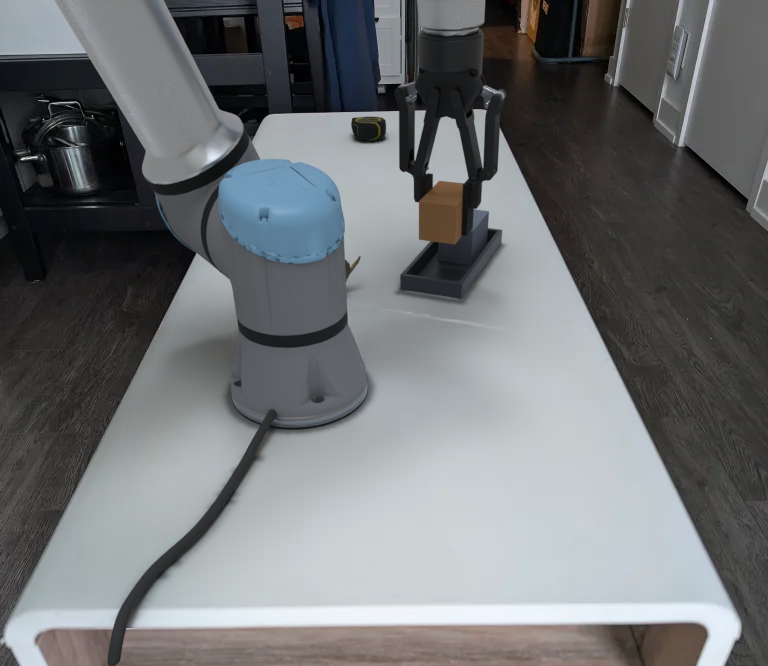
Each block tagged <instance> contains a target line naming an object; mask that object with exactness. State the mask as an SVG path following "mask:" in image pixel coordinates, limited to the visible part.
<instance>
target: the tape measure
mask: <svg viewBox="0 0 768 666" xmlns="http://www.w3.org/2000/svg"><path fill="white" fill-rule="evenodd" d="M350 126H351V131H352V134H353V137H355V138H356V139H359V140H366V141H367V142H374V141H375V142H376V141H377V140H378V139H382V138H384V137H385V136H386V134H387V120H386V119H385V118H384V117H379V116H359V117H352V118H351V122H350Z"/></svg>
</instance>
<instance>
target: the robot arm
mask: <svg viewBox="0 0 768 666" xmlns="http://www.w3.org/2000/svg"><path fill="white" fill-rule="evenodd" d="M53 1H54V2H55V4H56V5H57V7H58V9H59V11H60V12H61V14H62V15H63V17H64V19H65V21H66V22H67V24H68V25H69V27H70V28H71V30H72V32H73V34H74V35H75V37H76V38H77V40H78V42H79V43H80V45H81V47H82V48H83V50H84V52H85V53H86V55H87V56H88V58H89V60H90V61H91V63H92V65H93V67H94V68H95V69H96V71H97V73H98V76H100V78H101V79H102V82H103V83H104V84H105V86H106V88H107V89H108V91H109V93H110V94H111V96H112V98H113V100H114V101H115V103H116V104H117V106H118V108H119V109H120V111H121V113H122V114H123V116H124V118H125V119H126V121H127V122H128V124H129V126H130V128H131V129H132V131H133V132H134V134H135V135H136V137H137V139H138V141H139V142H140V143H141V145H142V147H143V148H144V150H145V153H144V157H143V161H142V165H141V171H142V172H141V173H142V175H143V177H144V179H145V180H146V181H147V184H148V185H149V186H150V188H151V190H152V191H153V193H154V194H155V201H156V205H157V209H158V212H159V213H160V216H161V218H162V219H163V222H164V223H165V225H166V227H167V229H168V230H169V231H170V232H171V234H172V235H173V237H175V238H176V239H177V240H178V242H179V243H181V244H182V245H183V246H184V247H186V248H187V249H189V250H191V251H192V252H194V253H196V254H197V255H199V256H200V257H201V258H203V259H204V260H205V261H206V262H207V263H208V264H209V265H211V266H212V267H214V268H215V269H216V270H217V271H218V272H219V273H220V274H222V276H224V277H226V278H227V279H228V280H229V281H230V284H231V290H232V298H233V303H234V309H235V316H236V321H237V327H238V328H237V329H238V337H237V343H236V347H235V353H234V357H233V362H232V367H231V373H230V385H229V386H230V392H231V393H230V394H231V399H232V403H233V405H234V407H235V408H236V409H237V411H238V412H240V413H241V414H242V415H243V416H244V417H246V418H248V419H249V420H251V421H254V422H256V423H259V424H260V425H259V427H258V428H257V430H256V432H255V434H254V435H253V437H252V439H251V441H250V442H249V445H248V446H247V448H246V450H245V452H244V454H243V455H242V457H241V458H240V460H239V462H238V464H237V466H236V467H235V469H234V471H233V472H232V474H231V475H230V477H229V479H228V480H227V482H226V483H225V485H224V487H223V488H222V490H221V491H220V493H219V494H218V496H217V497H216V498H215V500H214V501H213V503H212V504H211V506H210V507H209V508H208V509H207V511H206V512H205V513H204V514H203V515H202V517H201V518H200V519H199V520H198V522H196V523H195V525H194V526H193V527H191V529H190V530H189V531H188V532H187V533H186V534H185V535H184V536H183V537H181V538H180V539H179V540H178V541H176V543H175V544H173V545H172V546H171V547H170V548H168V550H167V551H165V552H164V553H163V554H162V555H161V556H160V557H158V558H157V559H156V560H155V561H154V562H153V563H152V564H151V565H150V566H149V567H148V569H146V570H145V571H144V573H143V574H142V575H141V577H140V578H139V579H138V581H137V582H136V584H135V585H134V586H133V588H132V589H131V590H130V592H129V594H128V595H127V597H126V598H125V600H124V601H123V602H122V604H121V606H120V608H119V610H118V613H117V615H116V617H115V620H114V624H113V627H112V631H111V634H110V635H111V636H110V641H109V646H108V652H107V661H106V662H107V666H117V665H118V664H119V663H120V662H121V659H122V658H121V657H122V652H123V645H124V641H125V634H126V630H127V627H128V623H129V620H130V617H131V615H132V613H133V610H134V609H135V607H136V605H137V604H138V602H139V601H140V599H141V597H143V595H144V594H145V591H146V590H147V589H148V587H149V586H150V585H151V583H152V582H153V581H154V580H155V579H156V578H157V576H159V574H160V573H161V572H162V571H163V570H165V568H166V567H167V566H169V564H170V563H172V562H173V561H174V560H175V559H176V558H177V557H178V556H179V555H181V554H182V553H184V552H185V551H186V550H187V549H188V548H189V547H190V546H191V545H192V544H193V543H194V542H195V541H196V540H197V539H198V538H199V537H200V536H201V535H202V534H203V533H204V531H205V530H206V529H207V528H208V527H209V526H210V525H211V523H212V522H213V521H214V519H215V518H216V517H217V515H218V514H219V513H220V512H221V510H222V509H223V507H224V506H225V504H226V503H227V502H228V500H229V498H230V497H231V495H232V494H233V493H234V491H235V489H236V488H237V486H238V484H239V483H240V481H241V479H242V478H243V476H244V474H245V473H246V471H247V469H248V468H249V466H250V464H251V462H252V461H253V459H254V457H255V455H256V453H257V451H258V450H259V448H260V445H262V442H263V440H264V438H265V437H266V435H267V433H268V431H269V430H270V428H271V427H276V428H287V429H288V428H289V429H292V428H293V429H296V428H309V427H316V426H321V425H324V424H328V423H331V422H334V421H336V420H339V419H341V418H343V417H345V416H347V415H349V414H351V413H352V412H353V411H355V410H356V409H357V408H358V407H359V406H360V405H361V404H362V403H363V402H364V400H365V399H366V396H367V393H368V386H369V385H368V384H369V383H368V373H367V369H366V368H367V367H366V364H365V362H364V359H363V357H362V355H361V352H360V350H359V348H358V345H357V342H356V340H355V338H354V335H353V333H352V332H353V331H352V330H351V328H350V325H349V316H348V295H347V281H346V271H345V260H346V254H345V253H346V251H345V232H346V224H345V217H344V211H343V208H342V207H343V206H342V200H341V199H342V198H341V195H340V191H339V188H338V186H337V185H336V183H335V181H334V180H333V179H332V178H331V176H330V175H328V174H327V173H326V172H325V171H323V170H321V169H320V168H318V167H316V166H315V165H312V164H308V163H305V162H302V161H298V162H292V161H291V160H290V159H286V158H260V155H259V154H258V152H257V151H258V150H256V147H255V146H254V143H253V141H252V140H251V137H250V136H249V133H248V131H247V129H246V128H245V125H244V124H243V122H242V120H241V118H240V117H239V116H238V115H236V114H234V113H232V112H228V111H224V110H222V109H220V108H219V106H218V105H217V102H216V101H215V98H214V96H213V94H212V92H211V91H210V88H209V87H208V84H207V83H206V81H205V79H204V77H203V75H202V73H201V71H200V69H199V67H198V65H197V62H196V61H195V59H194V57H193V55H192V53H191V51H190V49H189V47H188V46H187V44H186V41H185V39H184V37H183V36H182V33H181V32H180V30H179V27H178V26H177V24H176V21H175V20H174V18H173V16H172V14H171V12H170V10H169V8H168V6H167V4H166V2H165V0H53ZM417 4H418V5H417V7H418V9H417V11H418V12H417V18H418V19H417V24H418V26H419V27H420V28H422V29H421V30H420V32H419V33H418V34H417V37H418V39H417V42H418V43H417V47H418V48H417V51H418V52H417V53H418V54H417V55H418V57H417V60H418V61H417V63H418V65H417V66H418V71H417V72H418V73H417V75H416V77H415V80H414V81H412V82H409V83H408V82H404V83H402V84H400V85H399V86H397V87H396V88H395V90H394V91H393V92H394V93H393V94H394V97H395V100H396V104H397V107H398V168H399V170H400V171H401V172H402V173H408V174H410V175H411V176H412V179H413V200H414V202H415V203H419V201H420V200H421V199H422V198H423V197H424V196H425V195H426V194H427V193H428V192H429V191H430V190H431V189H432V188H433V187H434V173H429V172H427V171H429V169H430V167H429V165H430V160H431V157H432V153H433V148H434V144H435V141H436V137H437V132H438V128H439V124H440V121H441V119H442V118H450V119H451V120H455V125H456V127H457V129H458V132H459V137H460V142H461V149H462V153H463V158H464V162H465V168H466V173H467V177H468V178H467V179H466V181H465V182H464V184H463V197H462V199H463V204H462V232H461V235H464V236H467V235H468V234H469V232H470V231H471V230H472V228H473V211H474V209H475V210H478V208H479V206H480V205H481V203H482V193H483V183H484V182H485V181H486V182H490V181H491V180H492V179H493V178H494V176H495V175H496V174H497V173H498V171H499V170H498V169H499V151H500V150H499V149H500V129H501V112H502V109H503V105H504V103H505V100H506V98H507V92H506V90H504V89H503V88H500V89H498V90H497V89H494V88H493V87H490V86H489V85H487V84H486V80H485V77H484V75H483V65H484V63H483V62H484V40H485V39H484V38H485V33H484V32H483V29H481V27H482V26H483V25H484V24H485V13H486V0H418V3H417ZM417 93H418V95H419V96H420V98H421V100H422V102H423V103H424V106H425V107H426V109H425V112H424V118H423V126H422V130H421V135H420V138H419V143H418V147H417V152H416V151H415V149H416V148H415V147H416V145H415V144H416V141H415V139H416V103H415V101H416V100H417V98H418V97H417ZM481 97H482V99H483V107H484V109H486V111H485V120H484V136H483V137H484V138H483V160H482V157H481V151H480V147H479V141H478V136H477V135H478V134H477V129H476V125H475V112H474V106H475V104H476V103H477V102H478V100H479V99H480V98H481ZM415 153H416V154H415ZM482 161H483V163H482Z"/></svg>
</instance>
